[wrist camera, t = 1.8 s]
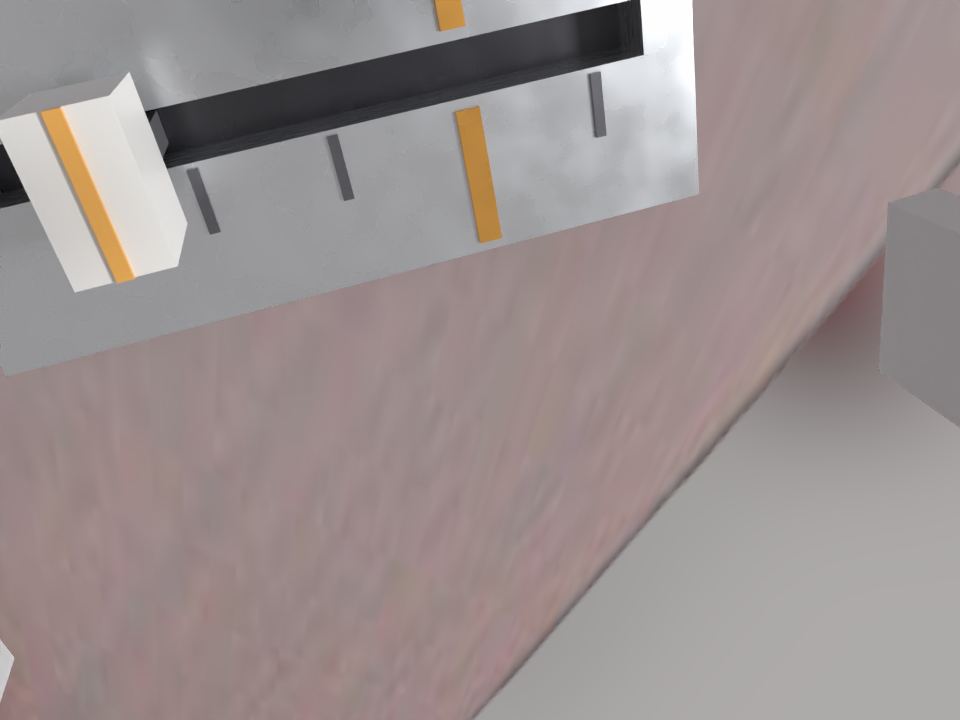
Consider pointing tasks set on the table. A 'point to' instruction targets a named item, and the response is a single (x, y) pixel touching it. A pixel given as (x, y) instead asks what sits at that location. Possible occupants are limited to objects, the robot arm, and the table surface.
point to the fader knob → (97, 179)
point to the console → (345, 143)
